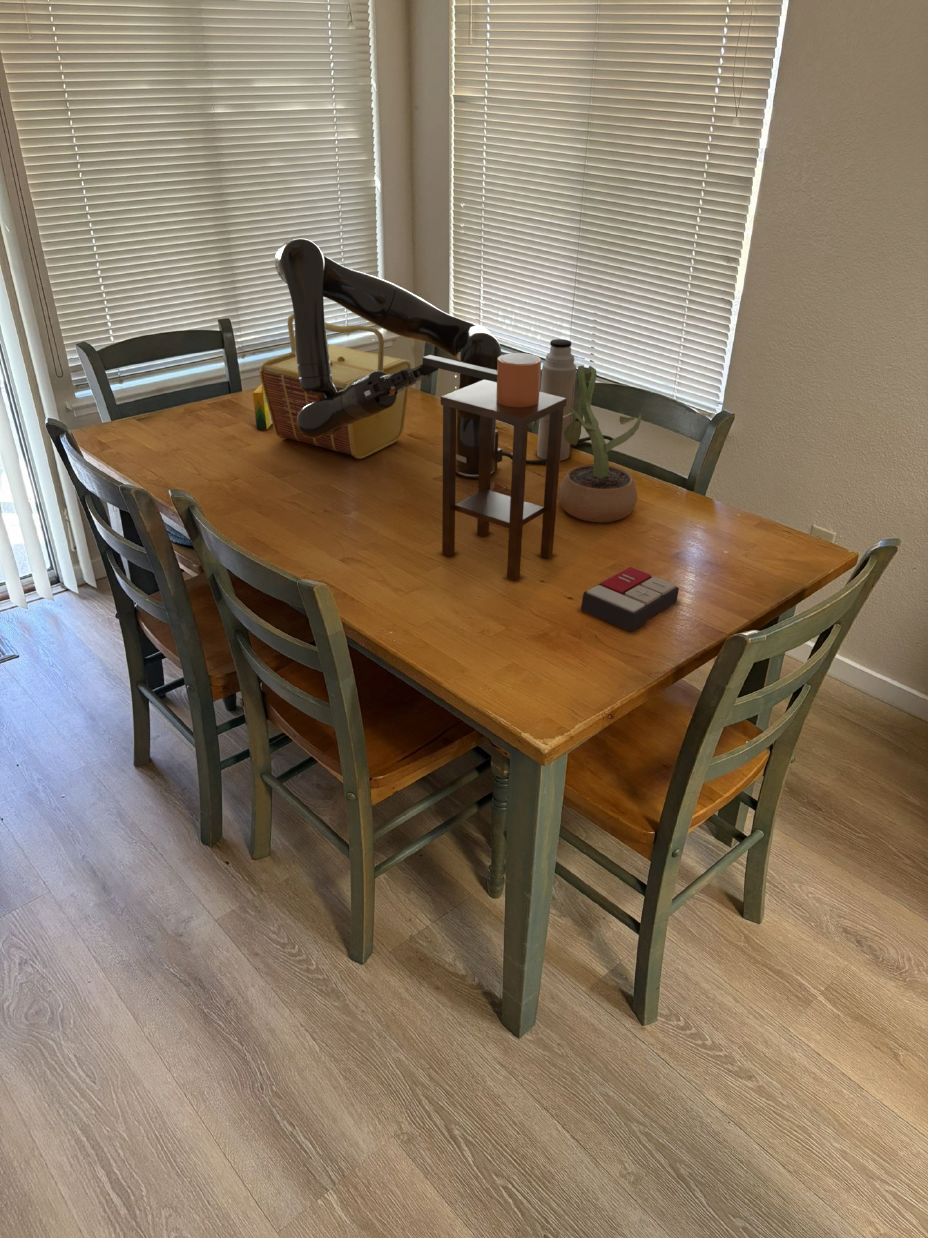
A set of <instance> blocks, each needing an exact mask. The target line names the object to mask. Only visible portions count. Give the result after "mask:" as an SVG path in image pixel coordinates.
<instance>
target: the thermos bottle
mask: <svg viewBox="0 0 928 1238" xmlns="http://www.w3.org/2000/svg"><path fill="white" fill-rule="evenodd" d="M549 345H550V349H549V352H548V353H547V354H546V356H545V359H544V361H545V362H543V363H542V366H541V382H540V392H543V393H547V394H551V395H555V396H559V397H564V398H567V401H566V406H565V407H564V410H563V416H565V415H567V414H569V413H572V412H571V411H570V409H569V407H570V406H571V407H572V408H573V409H574V403H575V402H574V400H575V389H576V377H577V365H576V364H575V361H576V360H575V355H574V354H573V353H572V341H571V340H569V339H563V338H555V339H552V340H550V342H549ZM538 420H539V423H538V432H537V450H536V455H537V457H538V458H540V459H541V460H542V459H547V449H548V435H549V422H545V421H549V420H550V414H549V415H547V416H544V417H542V418H540V419H538ZM572 422H573V414H571V415H569V416H566V417H564V418H563V423H562V436H561V450H560V461H565V460H567V459H568V458H569V457H570V453H571V452H570V450H571V447H570V443H568V442H567V441H566V440H565V437H564V432H565V430H566V428H567V427H568V426H569V425H570V424H571V423H572Z"/></svg>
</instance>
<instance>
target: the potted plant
mask: <svg viewBox="0 0 928 1238" xmlns="http://www.w3.org/2000/svg"><path fill="white" fill-rule="evenodd" d="M587 370H589V371H590V372H587V373H585V365H578V366H577V376H578V377H577V379H576V384H578V388H579V392H580V395H579V396H580V402H579V403H580V410H581V412H582V415H583V418H582V416H580V415H579V414H578V412H577V411H576V410H575V409H574V407H573V408H572V407H571V406H570V407H569V409H570V411H571V412H572V413H569V414H567V415H565V416H563V418H564V417H566V416H569V415H571V414H572V416H574V418H575V420H573V421H572V423H571V424H570V425H569V426H568V427H567V428H566V430H565V432H564V437H565V440H566V441H567V442H568V443H570V444H572V445H573V447H575V448H577V445H578V443H577V442H578V440H579V439H581V434H582V428H583V429H584V430H585V432H586V433H587V435H588V437H590V439H591V440H590V442H591V450H592V456H593V463H590V464H589V463H588V464H582V465H577V466H574V467H572V468H570V469H568V471H567V472H566V474H565V476H564V478H563V479H562V481H561V483H560V486H559V487H558V489H559V490H558V501H559V503H560V505H561V507H562V509H563V510H564V512H566V513H567V514H568V515H570V516H571V517H574V518H575V519H578V520H581V521H584V522H591V523H600V524H601V523H611V522H617V521H619V520H623V519H625V518H626V517H627V516H629V515H630V514H631V513H632V512H633V510H634V508H635V507H636V505H637V502H638V489H637V486H636V484H635V481H634V477H633V475H632V474H631V473H630V472H628V471H627V470H625V469H623V468H620V467H617V466H615V465H614V466H613V465H610V463H609V455H608V452H610V451H612V450H613V449H614V448H616V447H618V446H621V445H622V444H623V443H625V442H627V441H628V440H629V439H631V438H632V437H633V436H634V435H635V434H636V432H637V431H638V430H639V428H640V425H641V421H642V413H639V416H638V417H637V418H635V417H627V416H622V415H620V416H619V423H620V425H626V424H629V423H631V422H634V421H636V422H635V423H634V425H633V426H632V427H631V428H630V429H628V430H627V431H626V432H624V433H623V434H620V435H618V436H617V437H615V438H613V440H611V441H610V440H609V441H607V442H606V439H604V438H603V435H604V434H603V433H602V431H601V429H600V425H599V421H598V419H597V418H596V416H595V414H594V412H593V410H592V407H591V406H592V399H593V394H594V390H595V387H596V386H595V385H596V381H597V378H598V374H597V369H596V368H595V367H593V366H592V365H589V366H588V368H587ZM587 383H588V386H587ZM545 422H549V421H545ZM581 426H582V427H581Z"/></svg>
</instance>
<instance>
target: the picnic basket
mask: <svg viewBox="0 0 928 1238" xmlns="http://www.w3.org/2000/svg"><path fill="white" fill-rule="evenodd" d="M325 328H326V331H330V332H333V333H340V334H346V333H347V334H348V333H353V332H356V331H365V332H370V333H373V334H375V335H376V336H377V340H378V346H377V349H378V350H377V353H374V352H373V353H372V352H368V351H363V350H357V349H353V348H349V347H343V346H339V345H334V344H329V343H328V349H329V356H330V364H331V372H332V380H333V383H334V385H335V388H336V390H337V392H339V391H340V390H342V389H344V388H346V387H348V386H349V385H350V384H352V383H353V382H355V381H357V380H359V379H361V378H362V377H364V376H366V375H368V374H370V373H372V372H374V371H382V372H384V373H386V374H387V375H388V374H391V373H394V372H399V371H401V370H404V369H406V368H408V367H410V368H412V363H411V361H410V360H408V359H403V358H398V357H393V356H387V355H384V354H385V340H384V335H383V333H382V332H381V331H380V330H379V329H378V328H375V327H373V326H368V325H361V324H355V325H354V324H352V325H338V324H337V325H336V324H333V323H329V322H326V321H325ZM287 329H288V330H287V331H288V336H289V344H290V350H291V351H290V352H288V353H285V354H282V355H279V356H275V357H273V358H270V359H268V360H265V361H264V362H262V364H261V365H260V367H259V371H258V372H259V379H260V382H261V384H262V386H263V390H264V393H265V397H266V401H267V404H268V408H269V412H270V415H271V419H272V427H273V429H274V432H275V434H276V435H277V436H278V437H279V438H280V439H284V440H285V439H289V440H294V441H296V442H301V443H305V444H308V445H312V446H315V447H316V446H317V447H320V448H323V449H327V450H330V451H335V452H338V453H342V454H346V455H349V456H352V457H353V458H355V459H357V460H361V459H365V458H367V457H369V456H371V455H373V454H375V453H377V452H378V451H381V450H383V449H385V448H386V447H388V446H392V445H393V444H395V443H396V442H397V441H398V440H399V439H400V438H401V436H402V434H403V432H404V430H405V429H404V428H405V422H406V414H407V407H408V400H409V392H410V387H408V388H406V389H405V390H404V391H402V392H400V393H397V397H396V401H395V403H394V404H393V405H392V406H391V407H389V408H387V409H385V410H382V411H380V412H378V413H376V414H374V415H372V416H370V417H367V418H363V419H361V420H359V421H356V422H354V423H352V424H349V425H345V426H343V428H342V430H341V431H340V432H338V433H335V434H332V435H327V436H323V437H319V438H314V439H312V438H308V437H305V436H304V435H303V434H301V432H300V431H299V429H298V427H297V416H298V413H299V411H300V410H301V409H302V408H303V407H304V406H306V405H308V404H311V403H313V402H316V401H318V400H317V398H316V395H315V394H314V393H308V392H304V391H303V390H302V389H301V387H300V384H299V377H298V370H297V363H296V354H295V328H294V312H293V313H292V314H290V315H289V316H288V318H287Z"/></svg>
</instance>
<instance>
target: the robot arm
mask: <svg viewBox="0 0 928 1238" xmlns="http://www.w3.org/2000/svg"><path fill="white" fill-rule="evenodd" d="M274 267H275V271H276V273H277V274H278V277H279V278H280V279H281V280H282V282H284V283H285V284H286V285H287V288H288V293H289V295H290V300H291V305H292V311H293V313H294V319H293V323H294V336H295V354H296V363H297V370H298V377H299V384H300V387H301V389H302V390H303V391H304V392H308V393H314V394H315V395H316V398H317V400H318V401H316V402H313V403H311V404H308V405H306V406H304V407H303V408H302V409H301V410H300V411H299V413H298V416H297V427H298V429H299V431H300V432H301V434H303V435H304V436H305V437H308V438H312V439H314V438H319V437H323V436H327V435H332V434H335V433H338V432H340V431H341V430H342V428H343V426H345V425H349V424H352V423H354V422H356V421H359V420H361V419H363V418H367V417H370V416H372V415H374V414H376V413H378V412H380V411H382V410H385V409H387V408H389V407H391V406H392V405H393V404H394V403H395V401H396V397H397V393H400V392H402V391H404V390H405V389H406V388H408V387H409V388H410V387H412V386H415V385H417V384H418V382H420V381H422V380H424V379H426V378H430V377H431V376H432V374H433V373H434V372H435V373H436V372H437V371H438V370H439V368H435V367H431V366H427V365H423V363H421V364H418V365H417V366H415V367H413V368H410V367H408V368H406V369H404V370H401V371H399V372H394V373H391V374H388V375H387V374H386V373H384V372H382V371H374V372H372V373H370V374H368V375H366V376H364V377H362V378H361V379H359V380H357V381H355V382H353V383H352V384H350V385H349V386H348V387H346V388H344V389H342V390H340V391H339V392H337V390H336V388H335V385H334V383H333V380H332V372H331V364H330V356H329V349H328V344H329V343H328V336H327V330H326V328H325V322H326V321H325V320H326V319H325V308H324V307H325V304H324V299H328V300H330V301H332V302H334V303H336V304H338V305H340V306H341V307H343V308H345V309H346V310H348V311H349V312H351V313H353V314H354V315H356V316H357V317H360V318H361V319H363V320H365V321H367V322H369V323H371V324H372V325H374V326H376V327H379V328H381V329H383V330H385V331H387V332H390V333H391V334H394V335H397V336H399V337H403V338H406V339H411V340H415V341H419V342H420V341H421V342H425V343H429V344H431V345H433V346H434V347H436V348H439V349H441V350H442V351H444V352H446V353H447V354H449V355H451V356H452V357H453V358H454V359H456V360H457V361H458V362H463V363H467V364H471V365H476V366H480V367H484V368H488V369H493V370H497V365H498V357H499V356H501V355H502V348H501V345H500V341H498V339H497V338H496V336H494V335H493V334H492V332H490V330H488V329H487V328H486V327H484V326H482V325H480V324H476V323H474V322H470V321H467V320H464V319H463V318H460V317H456V316H453V315H451V314H449V313H447V312H444V311H443V310H441V309H439V308H437V307H436V306H435V305H433V304H431V303H430V302H428V301H426V300H425V299H423V298H422V297H420V296H418V295H416V294H414V293H413V292H410V291H409V290H407V289H405V288H404V287H401V286H399V285H397V284H395V283H393V282H391V281H388V280H386V279H382V278H380V277H377V276H375V275H371V274H368V273H364V272H361V271H358V270H354V269H351V268H348V267H346V266H343V265H342V264H340V263H338V262H336V261H334V260H333V259H331V258H329V257H327V256H326V255H324V254H323V252H322V250H321V249H320V247H319V246H318V245H317V244H315V243H314V241H312V240H310V239H307V238H293V239H291V240H288V241H286V242H285V243H283V244H281V246H280V247H279V248H278V249H277V251H276V253H275V256H274ZM482 380H484V379H480V378H476V377H472V376H468V375H464V374H460V373H459V383H458V387H456V390H459V389H462V388H464V387H467V386H469V385H472V384H474V383H477V382H479V381H482ZM496 429H497V420H496V419H493V425H492V455H491V476H493V475H494V474H495V472H496V471H497V470H498V463H501V462H503V456H504V457H507V458H509V459H510V460H511V461H512V457H513V453H509V452H506V451H504V449H503V448H500V447H499V434H500V433H499V431H498V430H496ZM602 435H603V438H604V440H607V441H609V442H610V441H611V440H613V439H614V438H613V437H612V436H609V435H607V434H602ZM589 441H591V439H590V437H589V436H586V437H582V438H581V437H580V438H579V440H578V442H577V444H579V443H584V442H589ZM479 443H480V415H477V414H474V413H470V412H466V411H462V410H459V409H456V475H458V476H461V477H463V478H468V479H479ZM571 447H574V445H572V444H570V448H571ZM540 464H547V459H542V458H541V459H526V465H540Z"/></svg>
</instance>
